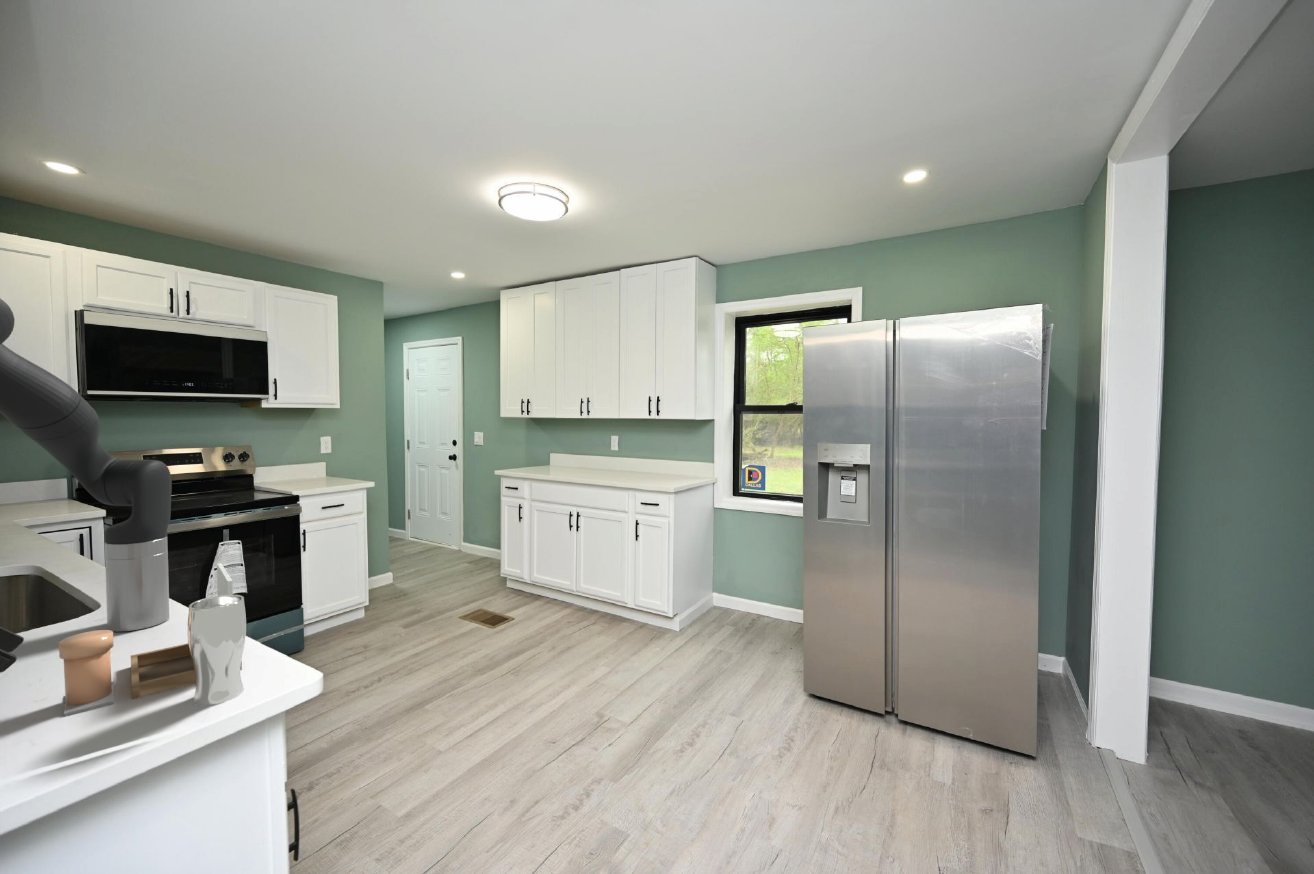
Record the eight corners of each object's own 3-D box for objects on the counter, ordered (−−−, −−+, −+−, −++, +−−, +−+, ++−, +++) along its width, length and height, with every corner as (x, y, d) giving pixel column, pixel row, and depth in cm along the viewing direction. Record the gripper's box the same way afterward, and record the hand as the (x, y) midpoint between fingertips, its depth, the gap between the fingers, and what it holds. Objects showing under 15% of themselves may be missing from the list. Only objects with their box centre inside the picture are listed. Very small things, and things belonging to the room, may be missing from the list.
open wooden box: (131, 670, 93) (129, 602, 93) (230, 647, 102) (229, 585, 102) (132, 702, 83) (130, 626, 83) (242, 674, 92) (241, 605, 92)
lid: (217, 612, 101) (216, 563, 100) (222, 611, 101) (221, 562, 101) (229, 635, 91) (227, 581, 90) (233, 634, 91) (232, 580, 91)
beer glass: (235, 707, 82) (233, 607, 82) (179, 714, 80) (176, 611, 80) (255, 685, 89) (253, 592, 88) (203, 690, 87) (200, 596, 86)
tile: (67, 698, 84) (67, 692, 84) (114, 687, 87) (113, 681, 87) (64, 720, 78) (63, 713, 78) (113, 707, 82) (113, 701, 82)
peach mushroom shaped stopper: (62, 696, 83) (59, 637, 82) (115, 683, 87) (113, 626, 86) (60, 711, 79) (57, 649, 78) (115, 697, 83) (113, 637, 82)
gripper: (-111, 578, 65) (37, 647, 74) (-82, 555, 75) (46, 617, 84) (-190, 635, 62) (-24, 700, 70) (-148, 602, 72) (-8, 663, 80)
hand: (14, 655), depth 77 cm, fingers open, 8 cm apart
